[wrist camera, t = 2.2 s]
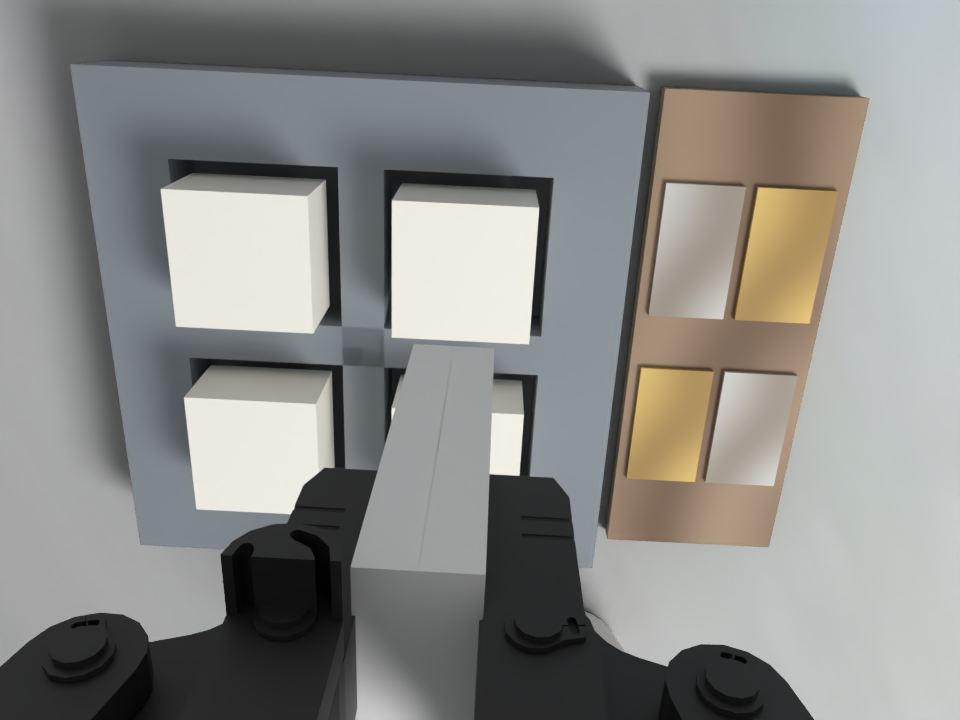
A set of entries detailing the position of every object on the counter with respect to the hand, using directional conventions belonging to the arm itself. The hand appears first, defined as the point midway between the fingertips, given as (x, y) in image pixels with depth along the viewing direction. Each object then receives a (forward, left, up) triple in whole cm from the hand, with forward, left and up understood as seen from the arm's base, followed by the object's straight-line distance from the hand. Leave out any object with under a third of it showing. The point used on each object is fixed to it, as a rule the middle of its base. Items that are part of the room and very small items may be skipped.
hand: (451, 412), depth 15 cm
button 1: (0, 0, -12) cm, 12 cm away
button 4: (-7, -7, -12) cm, 15 cm away
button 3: (-7, 0, -12) cm, 13 cm away
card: (+9, -3, -14) cm, 17 cm away
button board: (-3, -3, -14) cm, 14 cm away
